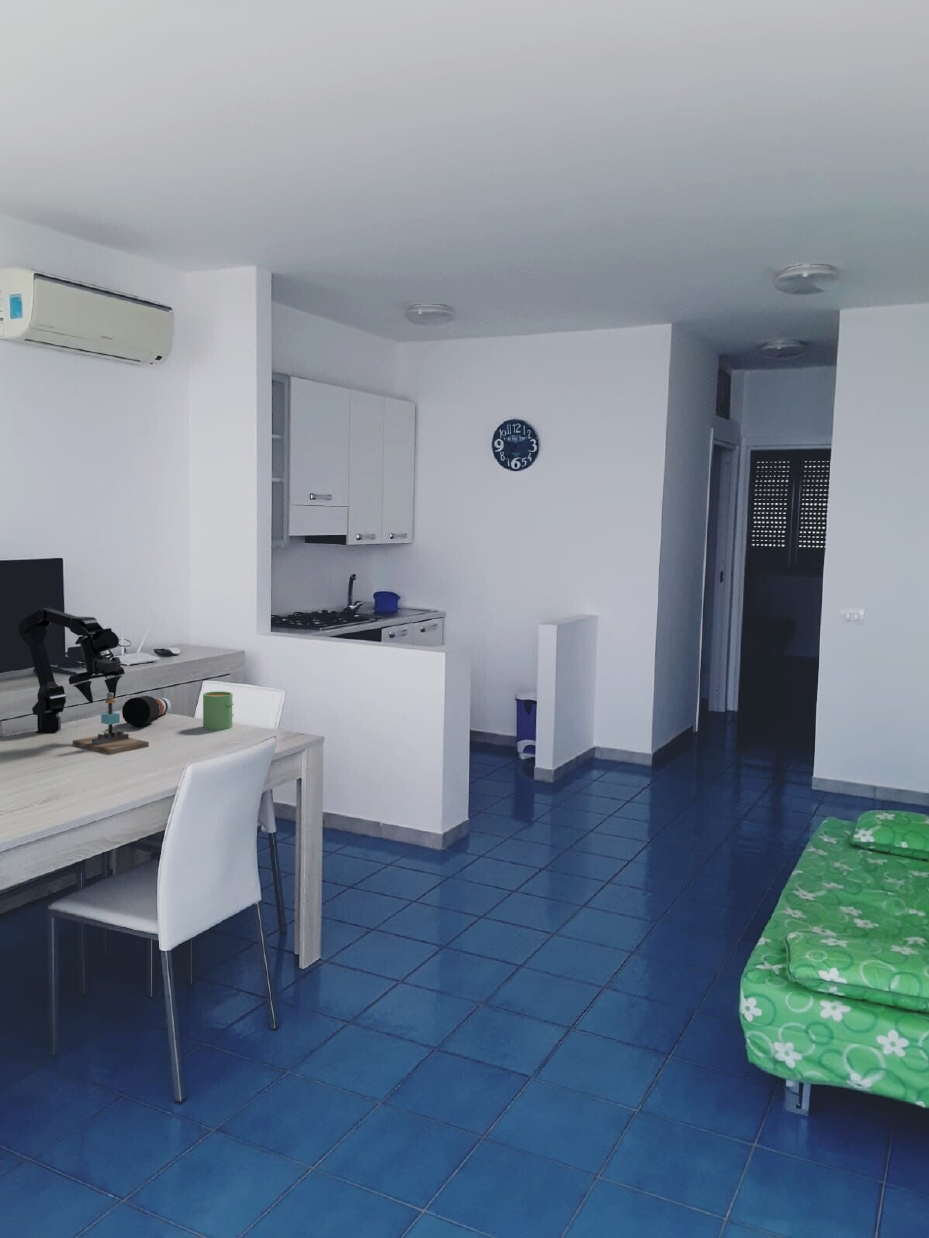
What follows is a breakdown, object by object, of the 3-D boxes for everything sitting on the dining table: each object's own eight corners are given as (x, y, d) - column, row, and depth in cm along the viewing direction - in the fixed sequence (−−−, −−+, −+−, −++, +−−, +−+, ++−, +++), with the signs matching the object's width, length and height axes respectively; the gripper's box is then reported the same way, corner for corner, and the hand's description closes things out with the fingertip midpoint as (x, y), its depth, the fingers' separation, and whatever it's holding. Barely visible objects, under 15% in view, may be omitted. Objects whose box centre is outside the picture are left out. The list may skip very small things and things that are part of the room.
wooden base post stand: (72, 744, 321) (71, 692, 319) (109, 737, 332) (109, 686, 330) (111, 754, 309) (111, 699, 308) (148, 746, 321) (148, 693, 319)
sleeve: (101, 722, 319) (101, 713, 319) (111, 721, 323) (111, 711, 322) (109, 724, 317) (108, 715, 317) (119, 722, 321) (119, 713, 320)
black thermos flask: (172, 722, 381) (185, 699, 381) (141, 731, 348) (155, 706, 348) (149, 709, 382) (162, 686, 381) (116, 717, 348) (130, 692, 348)
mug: (229, 730, 348) (229, 696, 347) (199, 729, 348) (199, 695, 347) (238, 723, 361) (238, 690, 360) (209, 722, 361) (209, 689, 360)
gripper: (85, 652, 316) (96, 700, 315) (130, 646, 332) (141, 692, 332) (62, 660, 321) (73, 707, 321) (108, 653, 338) (118, 698, 337)
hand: (102, 700), depth 327 cm, fingers open, 9 cm apart
